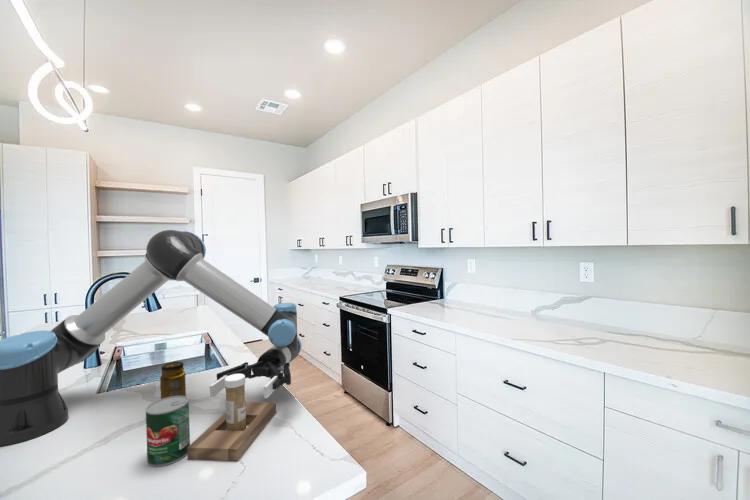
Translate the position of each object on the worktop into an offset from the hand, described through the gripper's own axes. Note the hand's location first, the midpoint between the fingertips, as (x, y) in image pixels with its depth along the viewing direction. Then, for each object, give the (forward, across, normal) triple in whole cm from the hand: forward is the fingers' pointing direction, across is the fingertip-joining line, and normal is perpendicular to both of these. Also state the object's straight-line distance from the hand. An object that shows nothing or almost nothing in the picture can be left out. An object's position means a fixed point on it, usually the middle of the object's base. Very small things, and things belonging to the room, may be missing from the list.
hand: (237, 392), depth 78 cm
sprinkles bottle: (0, +1, -10) cm, 10 cm away
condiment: (-11, +25, -10) cm, 29 cm away
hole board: (0, 0, -10) cm, 10 cm away
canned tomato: (+9, +11, -10) cm, 17 cm away
